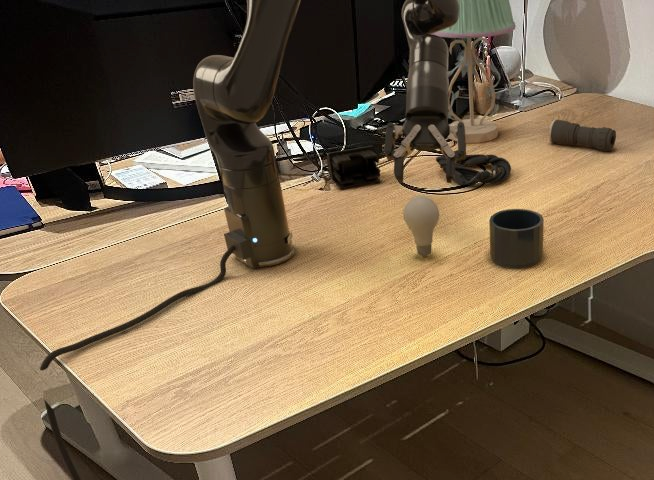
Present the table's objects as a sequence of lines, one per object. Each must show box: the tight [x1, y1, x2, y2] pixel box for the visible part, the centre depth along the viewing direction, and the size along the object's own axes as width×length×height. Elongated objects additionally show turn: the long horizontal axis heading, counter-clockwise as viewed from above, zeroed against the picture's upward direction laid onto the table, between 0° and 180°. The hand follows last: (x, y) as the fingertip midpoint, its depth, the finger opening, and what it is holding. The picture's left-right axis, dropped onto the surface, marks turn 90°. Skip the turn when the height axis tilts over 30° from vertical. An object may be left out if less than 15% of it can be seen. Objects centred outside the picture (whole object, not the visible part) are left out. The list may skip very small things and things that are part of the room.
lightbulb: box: [402, 195, 440, 258], centre depth 129 cm, size 6×6×11 cm
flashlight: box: [548, 118, 617, 152], centre depth 177 cm, size 15×5×5 cm, turn 62°
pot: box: [488, 208, 545, 269], centre depth 130 cm, size 9×9×7 cm
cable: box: [435, 153, 512, 187], centre depth 164 cm, size 17×14×4 cm
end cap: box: [326, 145, 382, 191], centre depth 161 cm, size 10×7×7 cm
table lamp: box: [432, 0, 517, 144], centre depth 176 cm, size 22×22×40 cm
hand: (424, 181), depth 131 cm, fingers open, 8 cm apart
